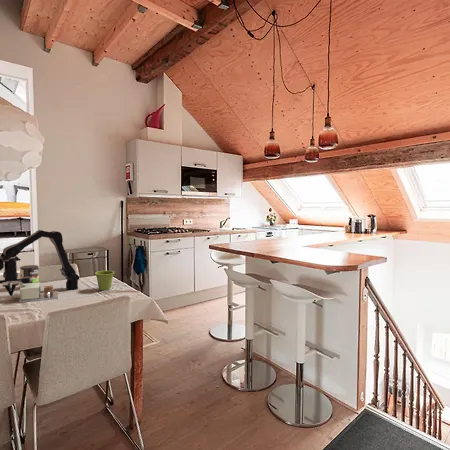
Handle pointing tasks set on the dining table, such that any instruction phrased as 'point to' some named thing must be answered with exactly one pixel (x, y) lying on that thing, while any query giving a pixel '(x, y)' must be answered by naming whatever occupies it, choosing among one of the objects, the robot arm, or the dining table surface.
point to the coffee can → (30, 273)
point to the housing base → (42, 297)
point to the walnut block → (48, 290)
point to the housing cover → (30, 291)
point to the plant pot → (104, 279)
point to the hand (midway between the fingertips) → (11, 296)
